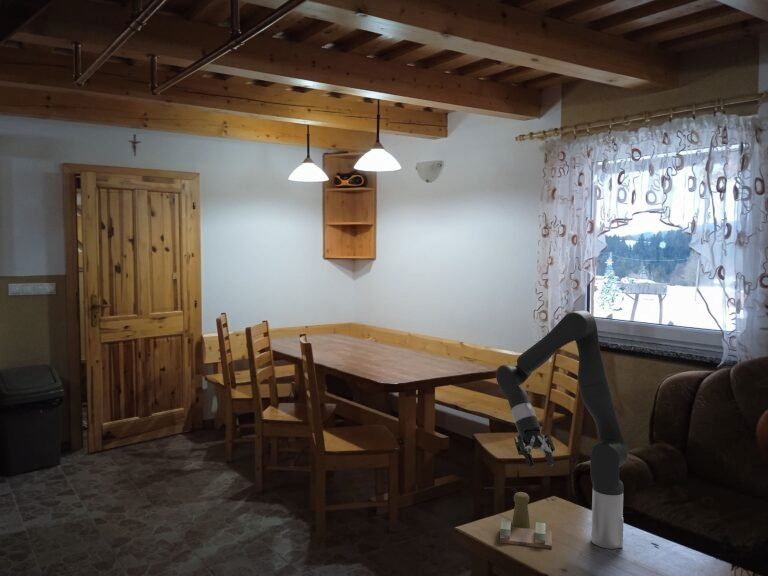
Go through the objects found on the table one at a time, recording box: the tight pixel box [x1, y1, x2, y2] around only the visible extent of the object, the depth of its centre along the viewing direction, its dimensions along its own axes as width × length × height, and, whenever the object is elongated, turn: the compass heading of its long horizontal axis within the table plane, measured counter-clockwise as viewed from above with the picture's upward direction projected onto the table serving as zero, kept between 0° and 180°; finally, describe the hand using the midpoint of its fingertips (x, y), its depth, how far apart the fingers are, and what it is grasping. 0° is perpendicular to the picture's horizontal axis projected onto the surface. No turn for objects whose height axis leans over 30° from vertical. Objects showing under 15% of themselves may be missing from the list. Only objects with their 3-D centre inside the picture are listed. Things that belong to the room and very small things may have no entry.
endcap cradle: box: [499, 517, 553, 549], centre depth 201 cm, size 16×10×4 cm, turn 75°
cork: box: [511, 491, 531, 529], centre depth 210 cm, size 6×6×11 cm
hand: (542, 466), depth 202 cm, fingers open, 8 cm apart
